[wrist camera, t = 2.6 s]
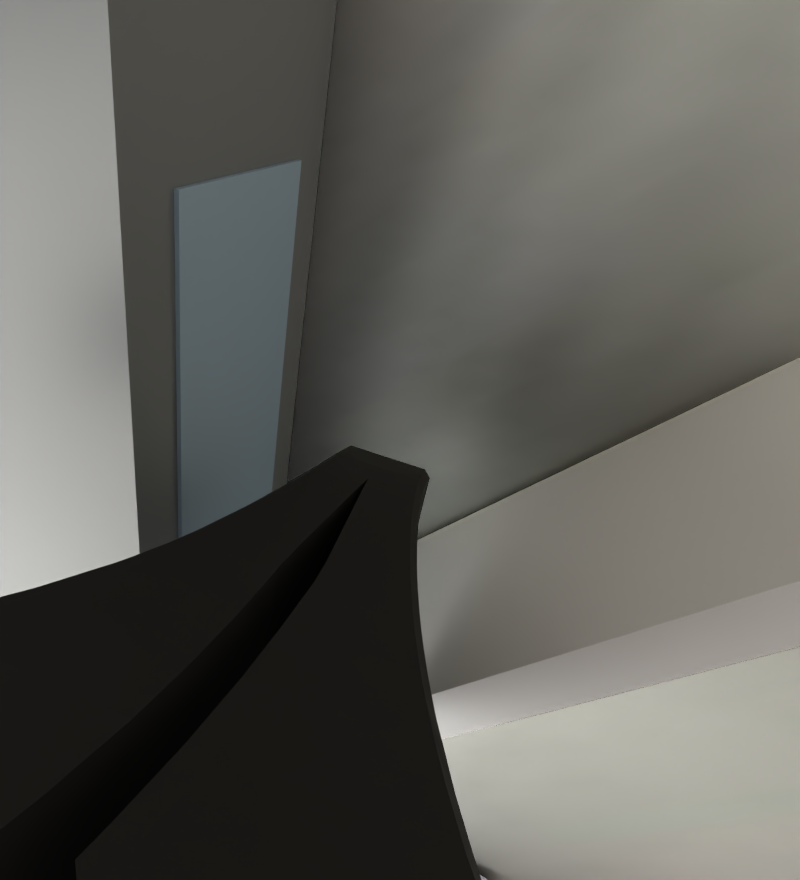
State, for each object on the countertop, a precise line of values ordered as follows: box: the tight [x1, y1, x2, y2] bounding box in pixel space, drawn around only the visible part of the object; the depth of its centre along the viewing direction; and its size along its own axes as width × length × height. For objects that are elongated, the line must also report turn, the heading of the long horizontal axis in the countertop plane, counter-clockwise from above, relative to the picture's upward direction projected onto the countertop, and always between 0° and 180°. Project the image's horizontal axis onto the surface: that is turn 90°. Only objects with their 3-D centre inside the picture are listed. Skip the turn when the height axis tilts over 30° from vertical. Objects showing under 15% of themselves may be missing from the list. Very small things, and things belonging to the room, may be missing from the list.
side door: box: [417, 357, 800, 740], centre depth 11 cm, size 12×1×5 cm, turn 129°
